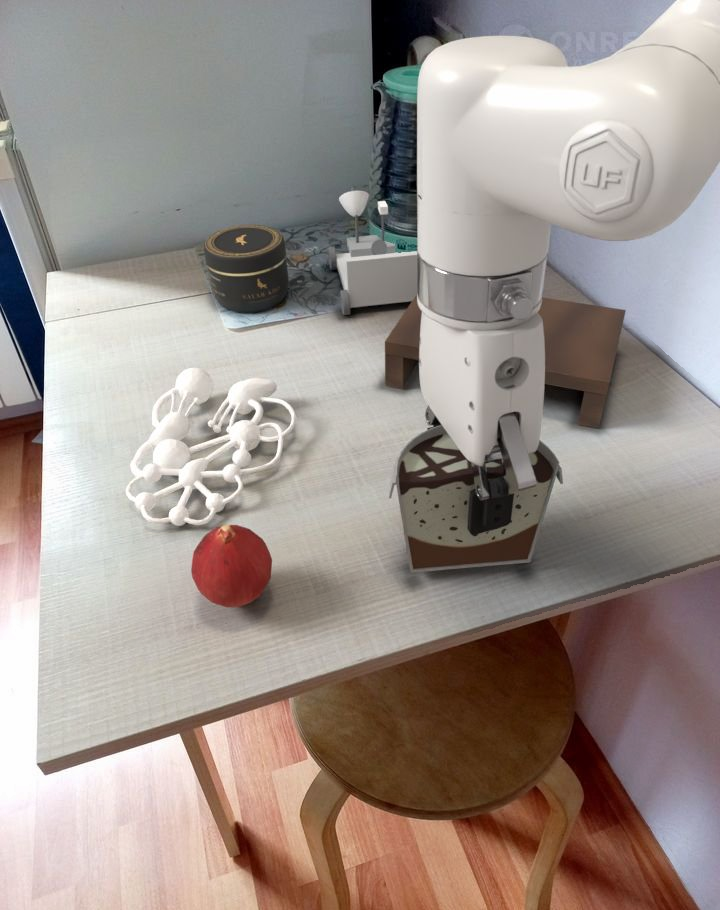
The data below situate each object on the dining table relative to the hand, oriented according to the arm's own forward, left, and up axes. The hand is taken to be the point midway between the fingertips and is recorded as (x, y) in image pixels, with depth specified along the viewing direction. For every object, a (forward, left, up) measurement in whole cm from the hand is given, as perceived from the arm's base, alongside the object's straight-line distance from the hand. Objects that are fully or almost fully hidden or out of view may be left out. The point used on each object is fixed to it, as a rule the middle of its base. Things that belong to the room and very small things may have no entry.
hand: (466, 493), depth 54 cm
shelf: (+3, -26, -6) cm, 27 cm away
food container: (0, 0, -5) cm, 5 cm away
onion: (+15, +11, -6) cm, 19 cm away
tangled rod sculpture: (+25, -4, -6) cm, 26 cm away
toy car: (+23, -41, -6) cm, 47 cm away
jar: (+37, -32, -6) cm, 49 cm away
